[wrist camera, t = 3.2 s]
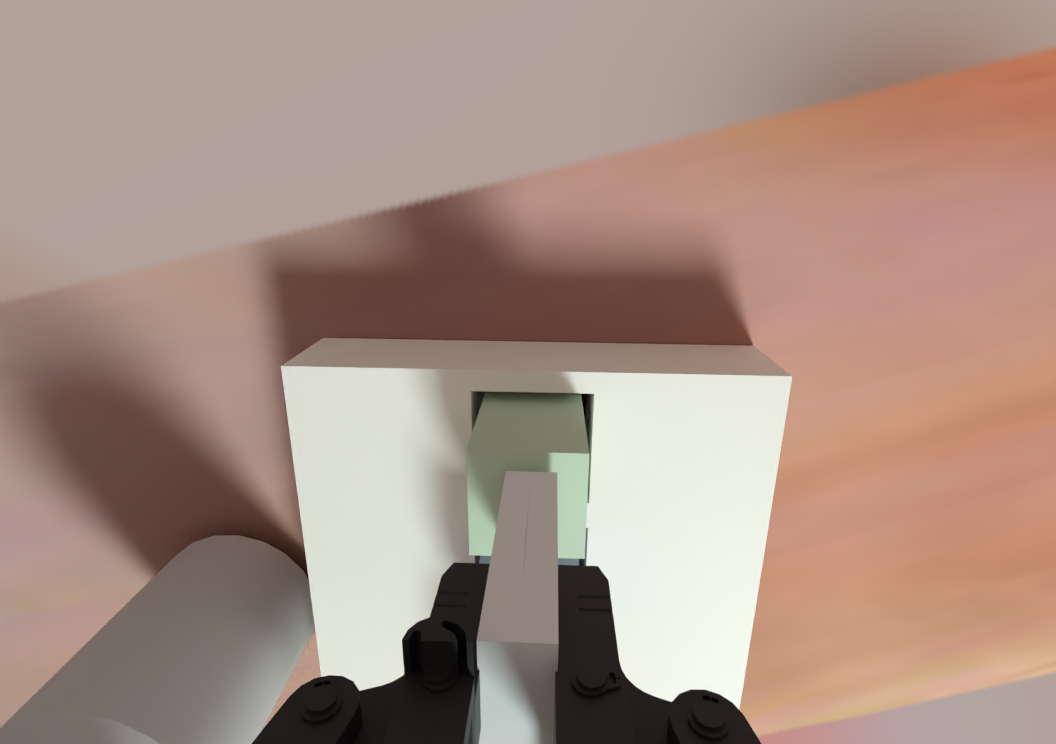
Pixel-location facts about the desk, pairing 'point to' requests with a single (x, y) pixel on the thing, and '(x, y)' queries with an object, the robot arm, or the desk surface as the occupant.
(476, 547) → the sage button
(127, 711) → the can
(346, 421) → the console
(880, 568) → the desk surface
